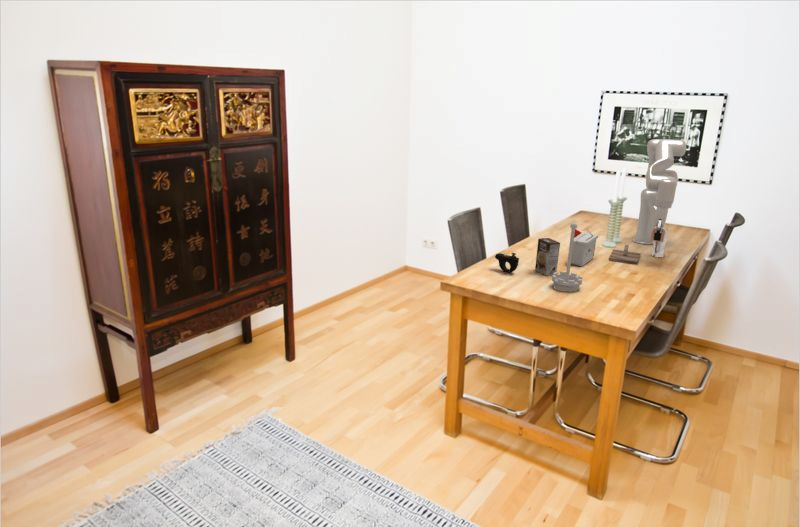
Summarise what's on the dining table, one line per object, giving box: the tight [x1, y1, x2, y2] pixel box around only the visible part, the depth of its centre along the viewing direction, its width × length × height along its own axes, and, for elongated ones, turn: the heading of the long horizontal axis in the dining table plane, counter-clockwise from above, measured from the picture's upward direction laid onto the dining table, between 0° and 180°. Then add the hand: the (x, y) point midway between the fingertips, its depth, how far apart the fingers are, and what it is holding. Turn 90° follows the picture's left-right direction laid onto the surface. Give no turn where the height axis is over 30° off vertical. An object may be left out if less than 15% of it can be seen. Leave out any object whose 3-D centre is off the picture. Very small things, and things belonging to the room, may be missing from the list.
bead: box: [650, 227, 665, 242], centre depth 280 cm, size 6×6×5 cm
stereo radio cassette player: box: [571, 227, 599, 267], centre depth 283 cm, size 21×8×20 cm, turn 145°
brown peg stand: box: [608, 244, 642, 266], centre depth 292 cm, size 18×14×8 cm
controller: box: [494, 252, 520, 274], centre depth 266 cm, size 4×12×10 cm, turn 46°
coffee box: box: [534, 237, 561, 277], centre depth 265 cm, size 9×6×16 cm
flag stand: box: [551, 222, 584, 293], centre depth 244 cm, size 13×13×30 cm
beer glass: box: [651, 227, 670, 258], centre depth 296 cm, size 7×7×15 cm
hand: (657, 238), depth 281 cm, fingers closed on bead, 6 cm apart
